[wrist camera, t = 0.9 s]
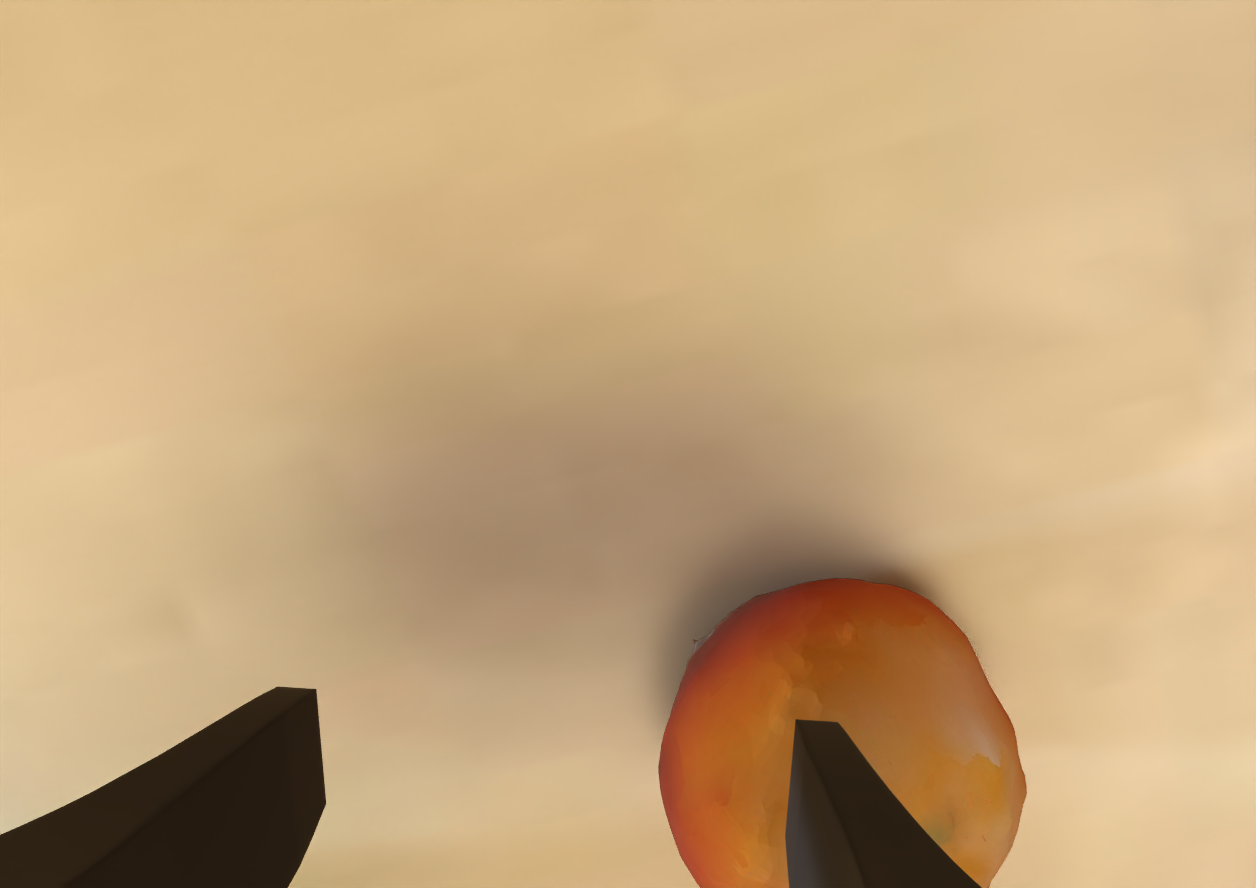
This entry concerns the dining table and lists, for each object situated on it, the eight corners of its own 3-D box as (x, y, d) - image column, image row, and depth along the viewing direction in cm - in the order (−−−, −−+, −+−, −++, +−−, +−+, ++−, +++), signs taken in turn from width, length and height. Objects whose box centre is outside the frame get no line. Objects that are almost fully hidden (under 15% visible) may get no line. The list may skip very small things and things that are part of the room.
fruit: (553, 616, 22) (729, 764, 15) (809, 501, 25) (1059, 578, 18) (633, 882, 24) (821, 1125, 17) (860, 747, 27) (1102, 905, 20)
